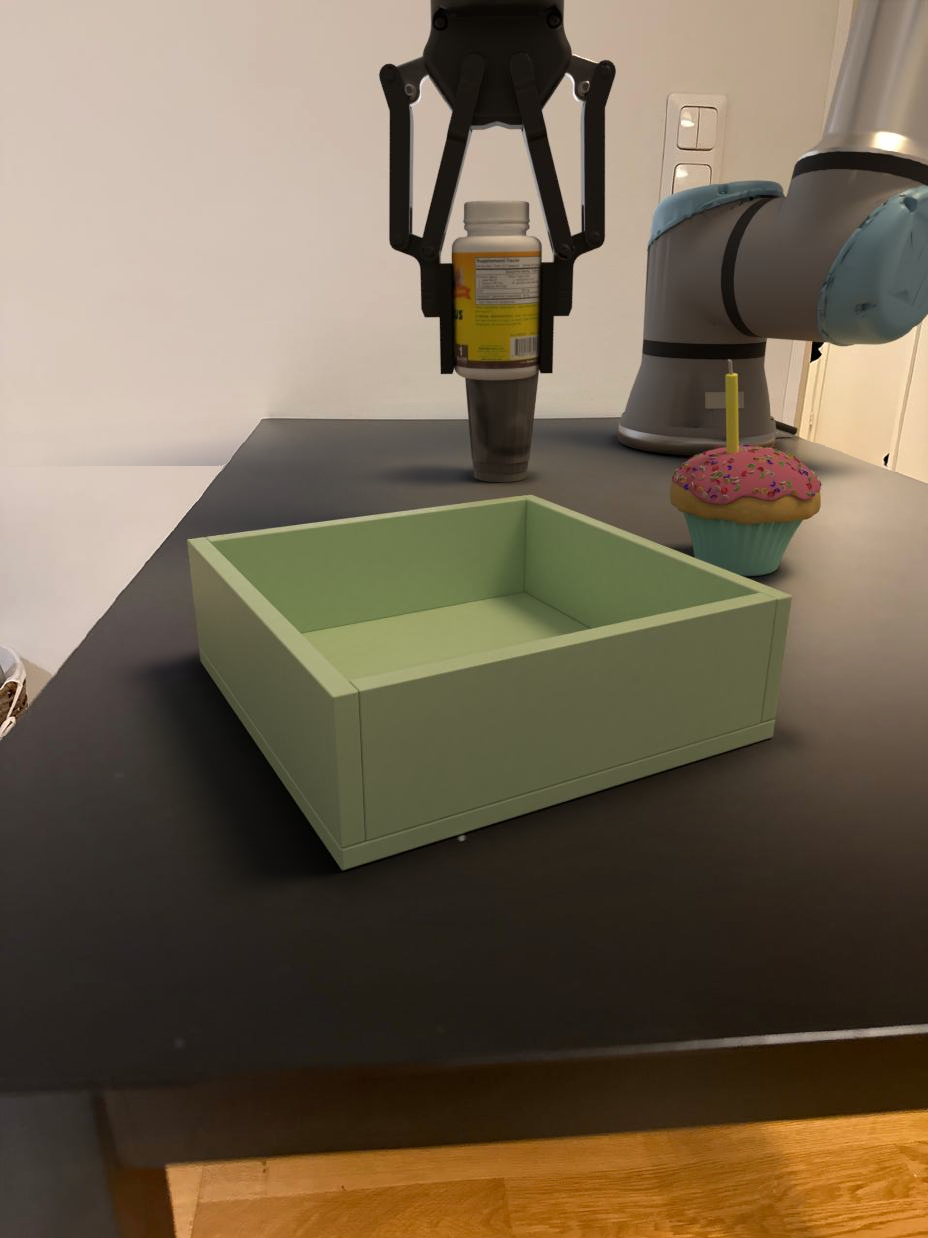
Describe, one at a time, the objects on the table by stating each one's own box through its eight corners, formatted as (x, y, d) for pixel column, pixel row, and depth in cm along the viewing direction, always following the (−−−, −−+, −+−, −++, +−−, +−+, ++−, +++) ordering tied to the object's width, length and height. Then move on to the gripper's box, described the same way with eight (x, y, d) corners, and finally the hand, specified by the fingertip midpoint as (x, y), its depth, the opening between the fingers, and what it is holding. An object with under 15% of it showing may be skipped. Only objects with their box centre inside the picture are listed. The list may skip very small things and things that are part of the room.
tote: (528, 599, 50) (531, 493, 48) (773, 737, 35) (793, 595, 33) (200, 662, 42) (186, 539, 40) (341, 872, 27) (332, 696, 25)
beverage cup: (537, 487, 74) (545, 217, 67) (449, 483, 76) (447, 218, 69) (548, 469, 81) (556, 221, 74) (466, 465, 82) (466, 222, 75)
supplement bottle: (459, 370, 62) (457, 204, 59) (541, 371, 62) (545, 203, 58) (447, 381, 57) (444, 200, 53) (537, 381, 56) (540, 198, 53)
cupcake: (730, 595, 50) (755, 368, 46) (634, 554, 57) (648, 354, 53) (842, 573, 54) (875, 361, 50) (739, 537, 61) (760, 348, 57)
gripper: (317, -82, 48) (343, 379, 56) (680, -91, 47) (651, 377, 56) (339, -40, 55) (360, 365, 63) (656, -46, 54) (633, 363, 62)
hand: (496, 370), depth 59 cm, fingers closed on supplement bottle, 6 cm apart
